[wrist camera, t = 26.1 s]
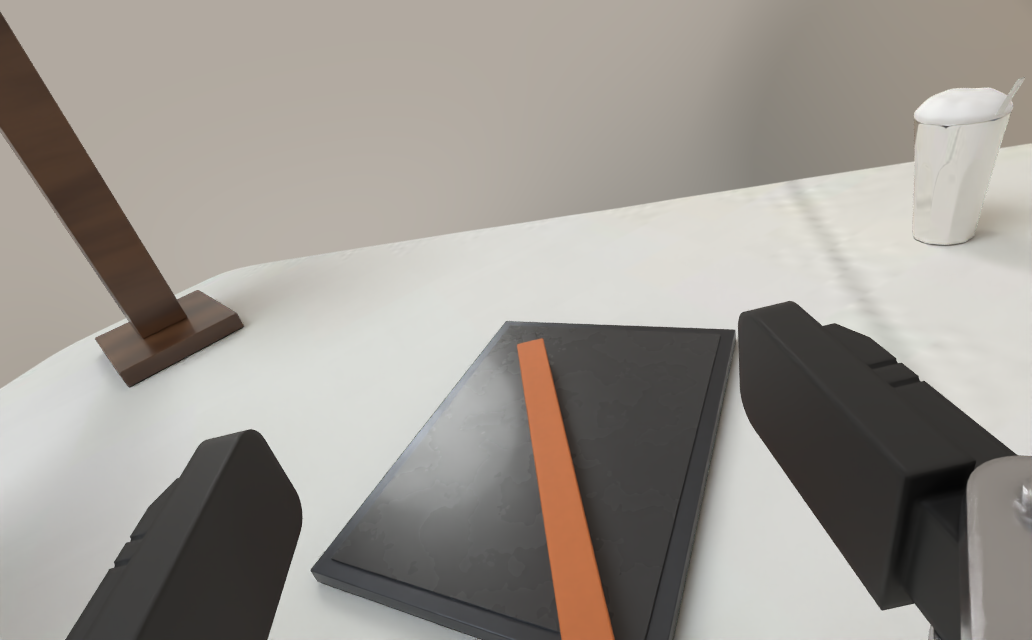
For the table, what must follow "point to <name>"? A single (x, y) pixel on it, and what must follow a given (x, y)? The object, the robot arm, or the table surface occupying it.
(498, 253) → the table surface
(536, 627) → the plate
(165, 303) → the shelf
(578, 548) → the stylus
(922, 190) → the milkshake
